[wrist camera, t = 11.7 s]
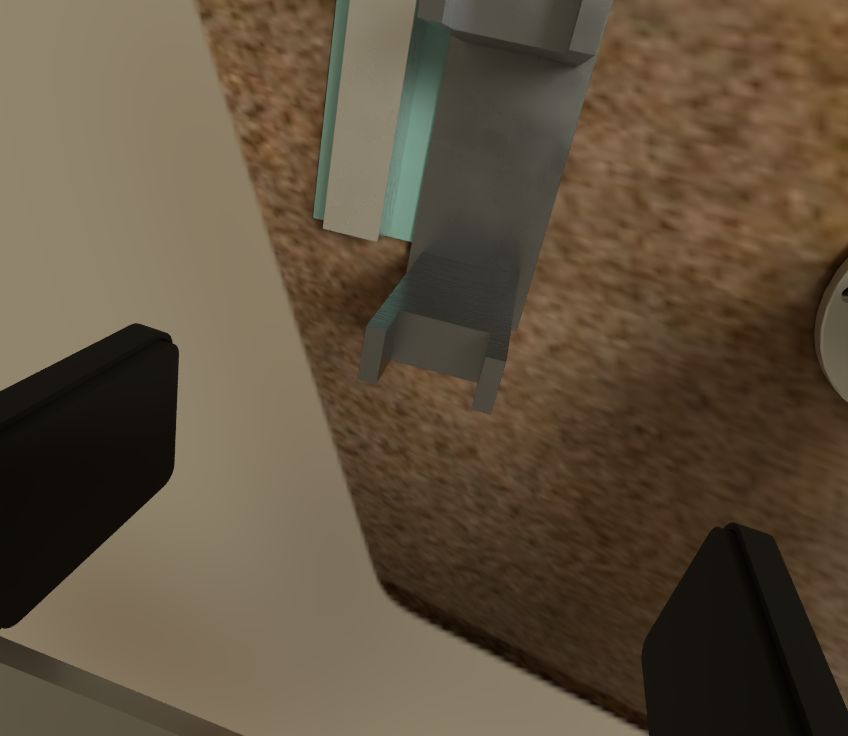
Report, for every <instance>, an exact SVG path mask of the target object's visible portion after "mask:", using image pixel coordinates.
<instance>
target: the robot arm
mask: <svg viewBox="0 0 848 736" xmlns="http://www.w3.org/2000/svg"><path fill="white" fill-rule="evenodd" d="M846 288H848V258H847V259H846V260H845V261H844V262H843V264H842V265H841V266H840V267H839V268H838V270H837V271H836V273H835V275H834V276H833V278H832V280H831V281H830V283H829V285H828V286H827V288H826V290H825V292H824V294H823V297H822V300H821V303H820V305H819V308H818V311H817V315H816V323H815V330H814V339H815V350H816V355H817V358H818V361H819V364H820V367H821V369H822V372H823V373H824V375H825V376H826V378H827V379H828V381H829V382H830V384H831V385H832V387H833V388H834V389H835V390H836V391H837V392H838V394H839V395H840V396H841V397H842V398H843V399H844V400H845V401H846V402H848V290H847V292H845V293H843V294H842V292H843V291H844V290H845V289H846ZM178 363H179V351H178V347H177V346H176V345H175V344H173V343H172V339H171V336H170V335H169V334H168V333H165V332H162V331H159V330H157V329H153V328H151V327H148V326H145V325H142V324H137V323H135V324H132V325H129V326H127V327H125V328H124V329H122V330H120V331H118V332H116V333H114V334H112V335H110V336H108V337H106V338H104V339H102V340H100V341H98V342H96V343H94V344H92V345H90V346H88V347H87V348H84V349H82V350H80V351H79V352H76V353H75V354H72V355H71V356H69V357H67V358H65V359H63V360H61V361H59V362H57V363H55V364H53V365H51V366H49V367H47V368H45V369H43V370H41V371H40V372H37V373H35V374H33V375H31V376H30V377H28V378H26V379H23V380H22V381H20V382H18V383H16V384H14V385H12V386H10V387H8V388H6V389H4V390H2V391H0V629H1V628H10V627H12V626H14V625H15V624H17V623H18V622H19V621H20V620H22V619H23V617H25V616H26V615H27V614H28V613H29V612H30V611H31V610H32V609H33V608H34V607H35V606H37V604H39V603H40V602H41V601H42V600H43V599H44V598H45V597H46V596H47V595H48V594H49V593H50V592H51V591H52V590H53V589H55V588H56V587H57V586H58V585H59V584H60V583H61V582H62V581H63V580H64V579H65V578H66V577H68V576H69V575H70V574H71V573H72V572H73V571H74V570H75V569H76V568H77V567H78V566H79V565H80V564H81V563H82V562H83V561H85V560H86V559H87V558H88V557H89V556H90V555H91V554H92V553H93V552H94V551H95V550H96V549H97V548H99V547H100V546H101V544H103V543H104V542H105V541H106V540H107V539H108V538H109V537H110V536H111V535H112V534H113V533H115V532H116V531H117V530H118V529H119V528H120V527H121V526H122V525H123V524H124V523H125V522H126V521H127V520H128V519H130V518H131V516H133V515H134V514H135V513H136V512H137V511H138V510H139V509H140V508H141V507H142V506H143V505H144V504H146V503H147V502H148V501H149V500H150V499H151V498H152V497H153V496H154V495H155V494H156V493H157V492H158V491H159V490H161V488H163V487H164V486H165V485H166V483H167V482H168V481H169V479H170V477H171V475H172V473H173V469H174V461H175V460H174V457H175V435H176V410H177V388H178V385H177V384H178ZM642 669H643V678H644V688H645V698H646V708H647V718H648V727H649V736H848V710H847V708H846V706H845V703H844V701H843V699H842V696H841V694H840V692H839V689H838V687H837V685H836V682H835V680H834V678H833V675H832V673H831V670H830V668H829V666H828V663H827V661H826V659H825V656H824V654H823V652H822V649H821V647H820V645H819V642H818V640H817V638H816V635H815V633H814V631H813V628H812V626H811V624H810V621H809V619H808V617H807V614H806V612H805V610H804V607H803V605H802V603H801V600H800V598H799V596H798V593H797V591H796V589H795V586H794V584H793V582H792V579H791V577H790V575H789V572H788V570H787V568H786V565H785V563H784V561H783V558H782V556H781V553H780V551H779V549H778V546H777V544H776V542H775V540H774V538H773V537H772V536H771V535H769V534H766V533H763V532H760V531H757V530H754V529H751V528H749V527H746V526H743V525H740V524H737V523H729V524H728V525H726V526H725V527H724V529H723V528H720V527H715V528H713V529H712V530H711V532H710V533H709V534H708V536H707V538H706V539H705V541H704V543H703V544H702V546H701V548H700V549H699V551H698V553H697V554H696V556H695V558H694V559H693V561H692V562H691V564H690V566H689V567H688V569H687V571H686V572H685V574H684V576H683V577H682V579H681V581H680V582H679V584H678V586H677V587H676V589H675V591H674V592H673V594H672V595H671V597H670V599H669V600H668V602H667V604H666V605H665V607H664V609H663V610H662V612H661V614H660V615H659V617H658V619H657V620H656V622H655V624H654V625H653V627H652V629H651V630H650V632H649V633H648V635H647V637H646V639H645V642H644V645H643V650H642ZM0 736H243V735H241V734H238V733H236V732H233V731H231V730H229V729H226V728H224V727H221V726H219V725H217V724H214V723H212V722H209V721H207V720H204V719H202V718H199V717H197V716H194V715H192V714H190V713H187V712H185V711H182V710H180V709H178V708H175V707H173V706H170V705H168V704H166V703H163V702H161V701H158V700H156V699H153V698H151V697H148V696H145V695H143V694H141V693H139V692H136V691H134V690H131V689H129V688H126V687H124V686H121V685H119V684H116V683H114V682H112V681H109V680H107V679H104V678H102V677H99V676H97V675H94V674H92V673H89V672H87V671H84V670H82V669H80V668H77V667H75V666H72V665H70V664H67V663H65V662H62V661H60V660H57V659H55V658H52V657H50V656H47V655H45V654H43V653H40V652H38V651H35V650H33V649H30V648H28V647H25V646H23V645H20V644H18V643H15V642H13V641H10V640H8V639H6V638H3V637H1V636H0Z"/></svg>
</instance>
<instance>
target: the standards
mask: <svg viewBox="0 0 848 736" xmlns="http://www.w3.org/2000/svg"><path fill="white" fill-rule="evenodd" d="M612 3H613V0H420V1H419V7H418V13H417V18H419V19H421V20H423V21H425V22H427V23H429V24H431V25H433V26H435V27H436V28H438V29H440V30H442V31H444V32H446V33H448V34H450V35H451V38H450V43H449V49H448V54H447V59H446V64H445V70H444V75H443V80H442V86H441V91H440V96H439V102H438V107H437V112H436V117H435V123H434V128H433V133H432V139H431V144H430V149H429V155H428V160H427V165H426V170H425V176H424V181H423V186H422V192H421V197H420V202H419V208H418V213H417V218H416V223H415V229H414V234H413V239H412V245H411V250H410V255H409V261H408V266H407V271H406V275H405V276H404V277H403V278H402V280H401V281H400V282H399V284H398V285H397V286H396V288H395V289H394V290H393V292H392V293H391V294H390V295H389V297H388V298H387V299H386V301H385V302H384V303H383V305H382V306H381V307H380V309H379V310H378V311H377V312H376V314H375V315H374V316H373V318H372V319H371V320H370V322H369V323H368V324H367V326H366V331H365V337H364V343H363V350H362V356H361V362H360V368H359V374H358V379H361V380H365V381H368V382H372V383H376V384H377V382H378V380H379V378H380V377H381V375H382V373H383V372H384V370H385V368H386V366H387V365H388V363H389V361H390V360H394V361H397V362H401V363H405V364H409V365H412V366H416V367H420V368H424V369H428V370H431V371H435V372H439V373H443V374H446V375H450V376H454V377H458V378H462V379H465V380H469V381H473V382H477V383H478V384H477V388H476V393H475V397H474V401H473V405H472V409H473V410H476V411H480V412H484V413H487V414H491V412H492V409H493V405H494V402H495V398H496V395H497V391H498V388H499V384H500V381H501V378H502V374H503V371H504V367H505V364H506V359H507V353H508V346H509V340H510V333H511V330H514V331H517V328H518V325H519V321H520V318H521V315H522V311H523V308H524V304H525V301H526V297H527V294H528V291H529V287H530V284H531V280H532V277H533V274H534V270H535V267H536V263H537V260H538V256H539V253H540V250H541V246H542V243H543V239H544V236H545V232H546V229H547V226H548V222H549V219H550V215H551V212H552V208H553V205H554V202H555V198H556V195H557V191H558V188H559V184H560V181H561V178H562V174H563V171H564V167H565V164H566V160H567V157H568V154H569V150H570V147H571V143H572V140H573V136H574V133H575V130H576V126H577V123H578V119H579V116H580V112H581V109H582V106H583V102H584V99H585V95H586V92H587V88H588V85H589V82H590V78H591V75H592V71H593V68H594V64H595V61H596V58H597V54H598V51H599V47H600V44H601V40H602V37H603V34H604V30H605V27H606V23H607V20H608V16H609V13H610V10H611V6H612Z"/></svg>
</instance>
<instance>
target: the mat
mask: <svg viewBox="0 0 848 736" xmlns="http://www.w3.org/2000/svg"><path fill="white" fill-rule="evenodd" d="M349 3H350V0H337V2H336V11H335V20H334V30H333V39H332V48H331V57H330V66H329V76H328V85H327V94H326V103H325V112H324V122H323V131H322V140H321V149H320V158H319V168H318V177H317V186H316V195H315V204H314V214H313V218H316V219H320V220H324V215H325V206H326V198H327V189H328V181H329V173H330V164H331V156H332V147H333V139H334V130H335V122H336V113H337V105H338V96H339V88H340V79H341V71H342V62H343V54H344V46H345V37H346V29H347V20H348V12H349ZM450 38H451V35H450V34H448V33H446V32H444V31H442V30H440V29H438V28H436V27H435V26H433V25H431V24H429V23H427V22H426V28H425V34H424V40H423V46H422V51H421V57H420V63H419V69H418V75H417V81H416V86H415V92H414V98H413V104H412V110H411V116H410V121H409V127H408V133H407V139H406V145H405V151H404V156H403V162H402V168H401V174H400V180H399V186H398V191H397V197H396V203H395V209H394V215H393V221H392V226H391V230H390V231H389V232H388V233H387V234H386V235H385V236H389V237H393V238H397V239H401V240H405V241H409V242H412V239H413V234H414V229H415V223H416V218H417V213H418V208H419V202H420V197H421V192H422V186H423V181H424V176H425V170H426V165H427V160H428V155H429V149H430V144H431V139H432V133H433V128H434V123H435V117H436V112H437V107H438V102H439V96H440V91H441V86H442V80H443V75H444V70H445V64H446V59H447V54H448V49H449V43H450Z"/></svg>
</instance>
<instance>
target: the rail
mask: <svg viewBox="0 0 848 736" xmlns="http://www.w3.org/2000/svg"><path fill="white" fill-rule="evenodd" d="M419 1H420V0H350V3H349V12H348V20H347V29H346V37H345V46H344V54H343V62H342V71H341V79H340V88H339V96H338V105H337V113H336V122H335V130H334V139H333V147H332V156H331V164H330V173H329V181H328V189H327V198H326V206H325V215H324V223H323V229H327V230H331V231H335V232H339V233H343V234H347V235H351V236H355V237H359V238H363V239H367V240H371V241H375V242H378V241H379V240H380V239H381V238H382V237H384V236H385V235H386V234H387V233H388V232H389V231H390V230H391V226H392V221H393V215H394V209H395V203H396V197H397V191H398V186H399V180H400V174H401V168H402V162H403V156H404V151H405V145H406V139H407V133H408V127H409V121H410V116H411V110H412V104H413V98H414V92H415V86H416V81H417V75H418V69H419V63H420V57H421V51H422V46H423V40H424V34H425V28H426V22H425V21H423V20H421V19H419V18H417V13H418V7H419Z"/></svg>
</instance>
